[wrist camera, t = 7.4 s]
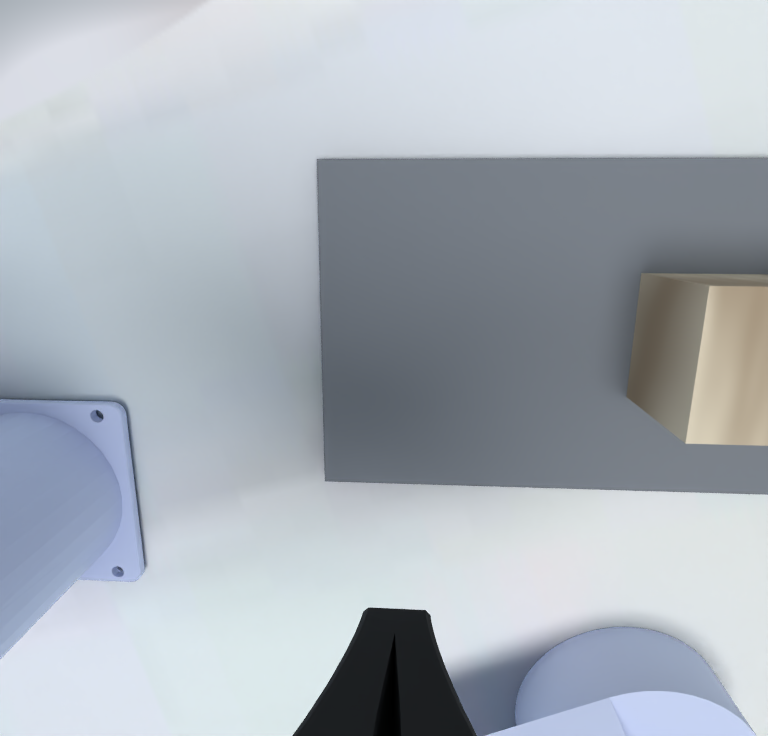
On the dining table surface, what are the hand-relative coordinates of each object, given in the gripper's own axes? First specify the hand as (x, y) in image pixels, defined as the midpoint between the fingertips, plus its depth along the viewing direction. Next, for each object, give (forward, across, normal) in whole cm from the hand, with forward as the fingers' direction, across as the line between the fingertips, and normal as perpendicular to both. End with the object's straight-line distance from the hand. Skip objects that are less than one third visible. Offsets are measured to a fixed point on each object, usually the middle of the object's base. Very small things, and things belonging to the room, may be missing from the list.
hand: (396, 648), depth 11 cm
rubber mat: (+10, -8, -5) cm, 14 cm away
